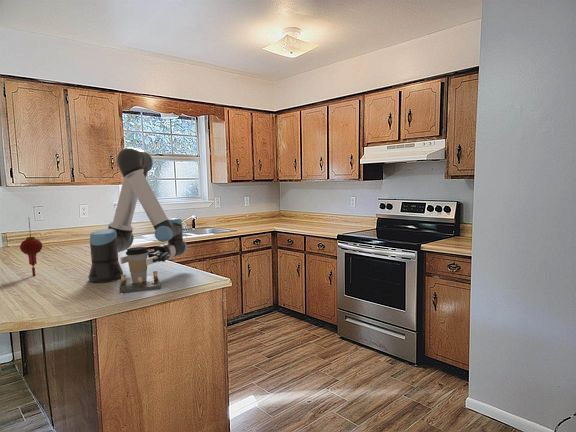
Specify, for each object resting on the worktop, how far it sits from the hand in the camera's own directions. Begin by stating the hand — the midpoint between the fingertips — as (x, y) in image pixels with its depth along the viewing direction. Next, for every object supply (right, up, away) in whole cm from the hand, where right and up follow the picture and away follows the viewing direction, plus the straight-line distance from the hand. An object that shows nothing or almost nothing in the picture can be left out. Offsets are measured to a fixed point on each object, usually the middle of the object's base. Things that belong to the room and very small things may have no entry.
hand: (133, 261), depth 165 cm
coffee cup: (+1, -10, +5) cm, 11 cm away
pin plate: (+1, -11, +4) cm, 12 cm away
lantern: (-62, -11, +28) cm, 69 cm away
